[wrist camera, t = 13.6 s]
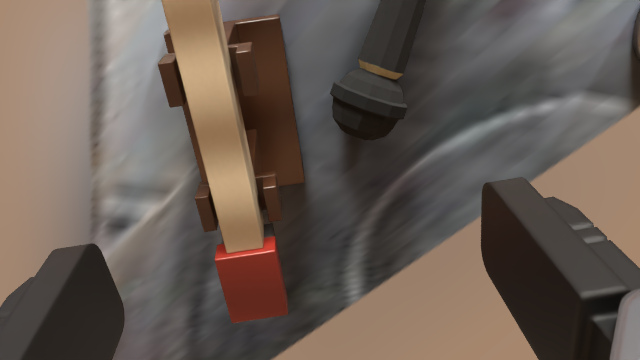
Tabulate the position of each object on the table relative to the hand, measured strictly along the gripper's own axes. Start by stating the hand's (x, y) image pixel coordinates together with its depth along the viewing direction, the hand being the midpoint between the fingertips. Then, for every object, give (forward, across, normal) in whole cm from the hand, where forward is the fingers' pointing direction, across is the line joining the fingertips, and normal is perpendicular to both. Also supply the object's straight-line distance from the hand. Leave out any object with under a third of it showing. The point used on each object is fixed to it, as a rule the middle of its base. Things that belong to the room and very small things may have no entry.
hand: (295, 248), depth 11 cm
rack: (+28, +4, +6) cm, 29 cm away
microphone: (+29, -9, 0) cm, 30 cm away
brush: (+19, +4, +6) cm, 20 cm away
